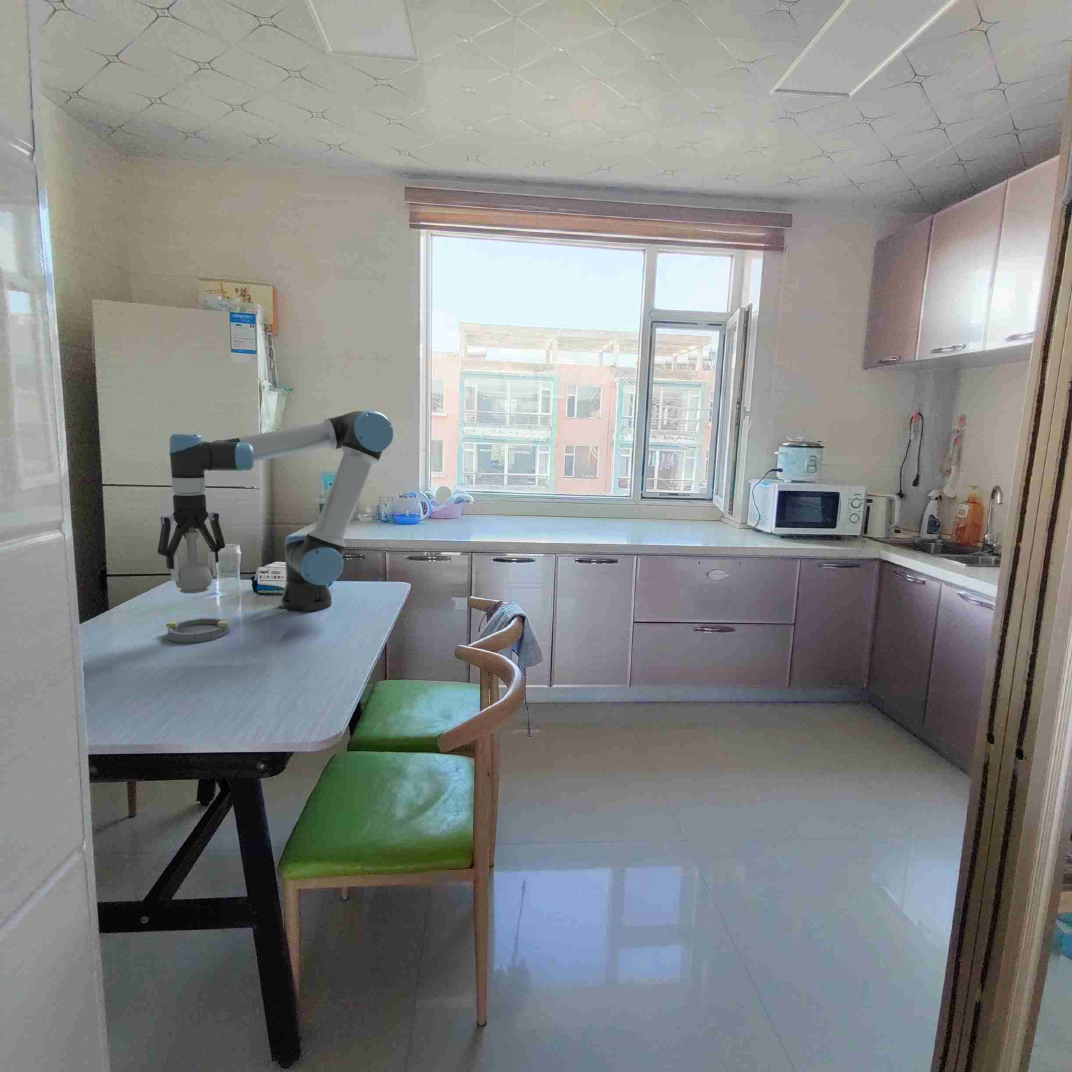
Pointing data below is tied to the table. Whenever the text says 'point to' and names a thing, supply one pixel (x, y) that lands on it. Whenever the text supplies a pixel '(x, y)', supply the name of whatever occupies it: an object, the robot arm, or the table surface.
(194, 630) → the grey flat ring
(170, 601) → the table surface
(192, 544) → the potion bottle
